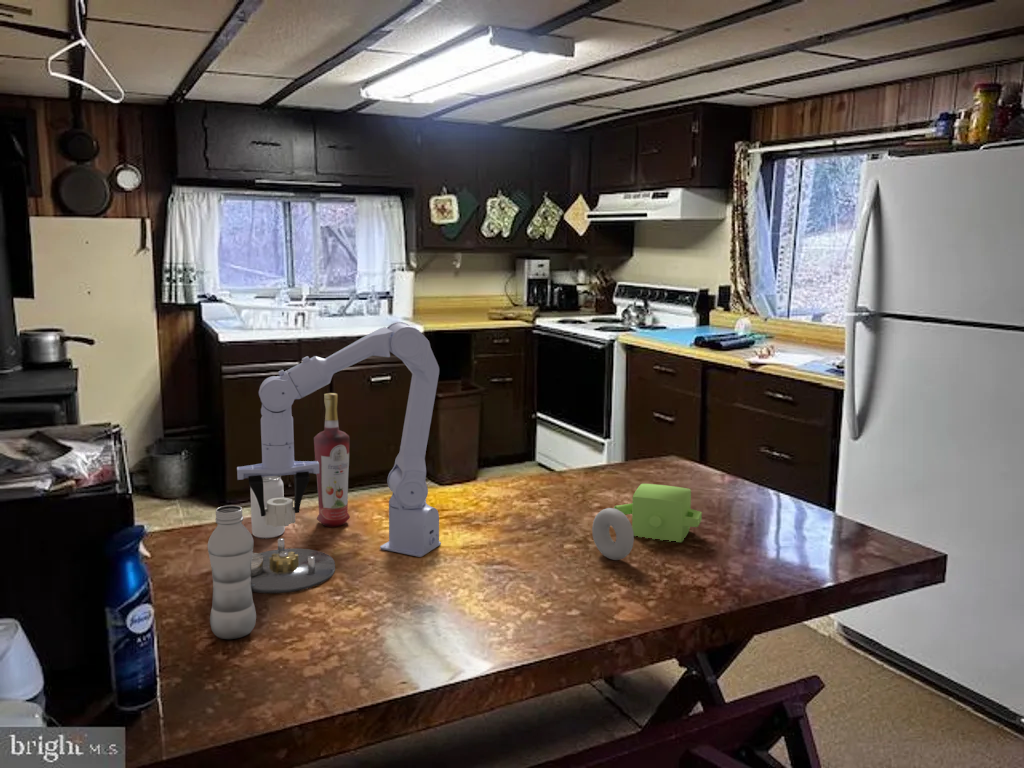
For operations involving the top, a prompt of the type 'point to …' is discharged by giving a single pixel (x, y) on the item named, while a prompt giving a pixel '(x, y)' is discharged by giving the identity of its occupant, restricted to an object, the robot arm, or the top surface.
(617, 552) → the donut
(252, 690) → the top surface
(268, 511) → the planet gear
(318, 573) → the carrier
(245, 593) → the plastic bottle
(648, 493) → the gearbox
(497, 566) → the top surface
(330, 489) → the liquor
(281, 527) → the can
